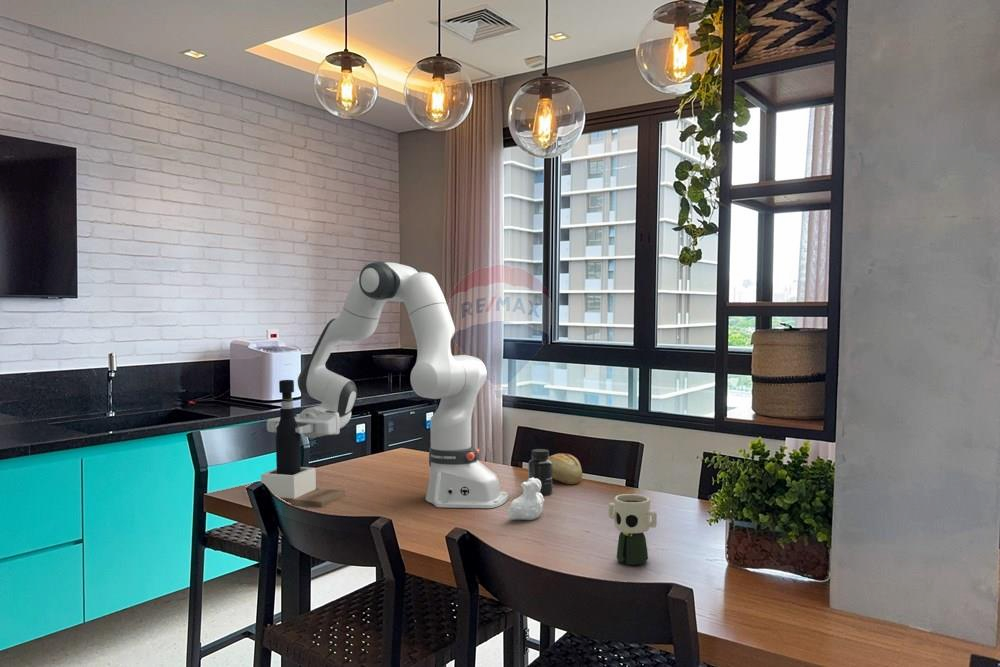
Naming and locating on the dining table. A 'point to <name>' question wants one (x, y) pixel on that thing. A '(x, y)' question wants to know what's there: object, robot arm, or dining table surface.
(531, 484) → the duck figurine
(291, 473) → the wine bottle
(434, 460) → the robot arm
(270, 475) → the bottle stand
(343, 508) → the dining table surface
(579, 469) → the bread roll
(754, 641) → the dining table surface
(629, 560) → the character mug
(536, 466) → the supplement bottle
